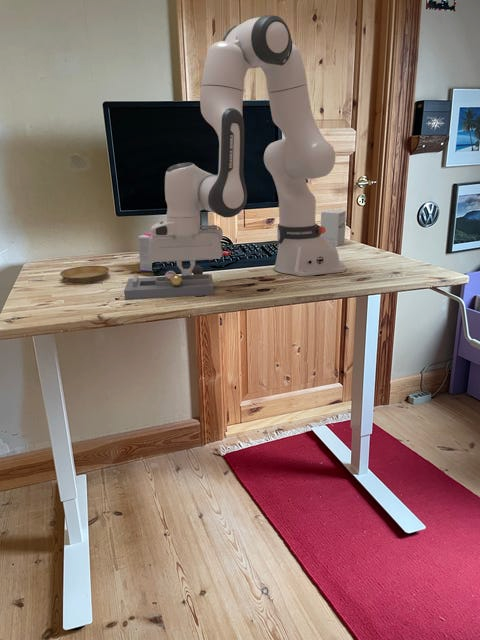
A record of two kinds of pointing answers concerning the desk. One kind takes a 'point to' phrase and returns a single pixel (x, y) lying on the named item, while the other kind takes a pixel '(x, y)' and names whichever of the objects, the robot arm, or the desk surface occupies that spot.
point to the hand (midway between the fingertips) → (186, 275)
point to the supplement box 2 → (334, 226)
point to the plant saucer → (85, 274)
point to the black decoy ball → (197, 270)
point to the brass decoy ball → (176, 280)
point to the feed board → (168, 287)
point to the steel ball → (169, 275)
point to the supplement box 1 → (144, 253)
